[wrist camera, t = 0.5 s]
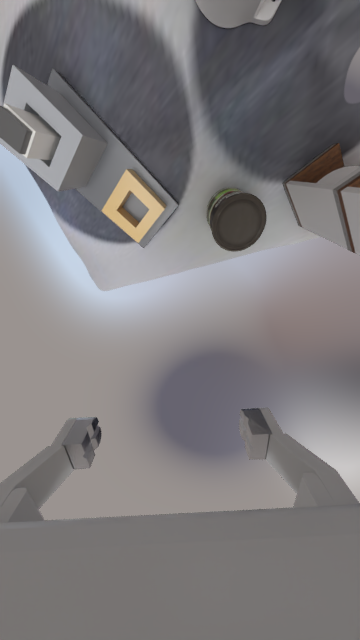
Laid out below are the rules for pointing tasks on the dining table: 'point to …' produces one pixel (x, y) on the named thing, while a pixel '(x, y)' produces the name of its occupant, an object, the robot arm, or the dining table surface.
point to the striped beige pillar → (328, 198)
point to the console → (90, 157)
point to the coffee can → (235, 219)
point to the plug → (28, 133)
